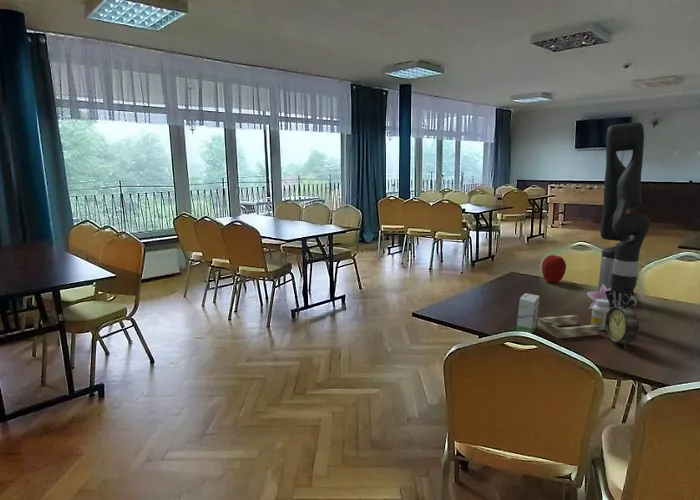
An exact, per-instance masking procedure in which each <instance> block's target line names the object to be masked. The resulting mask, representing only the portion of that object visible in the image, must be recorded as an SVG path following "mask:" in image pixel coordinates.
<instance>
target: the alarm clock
mask: <svg viewBox="0 0 700 500" xmlns="http://www.w3.org/2000/svg"><path fill="white" fill-rule="evenodd" d="M624 295H626V296H627V297H628V300H629V302H630V299H629V296H628V295H627V294H624ZM624 295H623V296H622V301H623V297H624ZM629 302H628V304H629ZM628 304H626V303H624V301H623V307H610V310H609V311H608V313H607V316H606V330H605V331H606V334H607V336H608V340H611V341H612V342H614V343H620V344H621V343H622V345H623V350H624V351H626V350H627V345H629V343H633V342H634V341H635V340H636V339H637V336H638V334H639V330H640V322H639V319H638V315H637V314H636V312H635V311H634V310H633V309H630V308H627V307H626V305H628Z"/></svg>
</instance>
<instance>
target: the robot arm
mask: <svg viewBox="0 0 700 500" xmlns="http://www.w3.org/2000/svg"><path fill="white" fill-rule="evenodd" d="M644 129H645V128H644V126H643V124H642V123H641V122H627V123H626V122H625V123H618V124H612V125H609V126H608V128H607V131H606V136H605V137H606V138H605V144H606V147H605V153H606V154H605V155H606V156H605V161H606V163H605V172H604V173H605V175H604V182H603V183H604V184H603V208H602V209H603V210H602V215H601V223H600V231H599V232H600V237H601V238H602V239H603V240H606V241H616V242H617V243H616V244H615V245H614V246H611V247H605V248H603V249H602V251H601V256H600V257H601V259H600V266H599V277H598V285H597V291H598V292H599V291H600V288H601V286H602V285H603V284H604V285H605V287H606V289H609V288H611V290H609V291H605V294H606V296H607V299H608V301H609V306H610V308H612V307H623V301H624V303H626V304H628V302H629V300H628V297H627V296H626V295H624V294H627V295H628V296H629V299H630V302H629V304H628V305H626V307H627V308H630V309H632V310H633V309H635V307H637V306H638V304H639V303H640V300H639V299H636V297H635V293H634V290H635V289H636V287H637V282H638V274H639V273H638V272H639V260H640V251H641V248H642V246H643V243H644V241H645V240H644V239H645V238H646V236H647V234H648V232H649V229H650V225H651V224H650V219H649V217H648V216H647V215H646V214H642V213H627V211H628V210H631V209H637V208H640V206H641V205H642V202H643V198H642V171H643V162H644V160H643V159H644V149H645V148H644V146H645V130H644ZM624 151H632V156H631V158H630V161H629V162H628V164H627V166H625V165H624V163H622V160H620V158H619V157H618V154H617V152H624ZM623 295H624V297H623V301H622V296H623ZM612 301H613V302H612Z"/></svg>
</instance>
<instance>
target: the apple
mask: <svg viewBox="0 0 700 500" xmlns="http://www.w3.org/2000/svg"><path fill="white" fill-rule="evenodd" d="M566 269H567V264H566V261H565V259H564V258H563V257H562V256H559V255H556V254H551V255H548V256H546V257H545V258H544V259H543V261H542V264H541V272H542V275H543V279H544V280H545V281H546V282H547V283H550V284H556V283H559V282H561V281H562V280H563V277H564V275H565V274H566Z"/></svg>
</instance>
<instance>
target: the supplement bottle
mask: <svg viewBox="0 0 700 500" xmlns="http://www.w3.org/2000/svg"><path fill="white" fill-rule="evenodd" d="M595 304H596V305H594V306H593V308H591V309H592V310H591V320H590V325H598V326H599V330H598V331H606V316H607V313H608V311H609V310H610V309H611V307H610V308H609V306H610V304H609V301H608V300H606V299H596V302H595Z"/></svg>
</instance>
